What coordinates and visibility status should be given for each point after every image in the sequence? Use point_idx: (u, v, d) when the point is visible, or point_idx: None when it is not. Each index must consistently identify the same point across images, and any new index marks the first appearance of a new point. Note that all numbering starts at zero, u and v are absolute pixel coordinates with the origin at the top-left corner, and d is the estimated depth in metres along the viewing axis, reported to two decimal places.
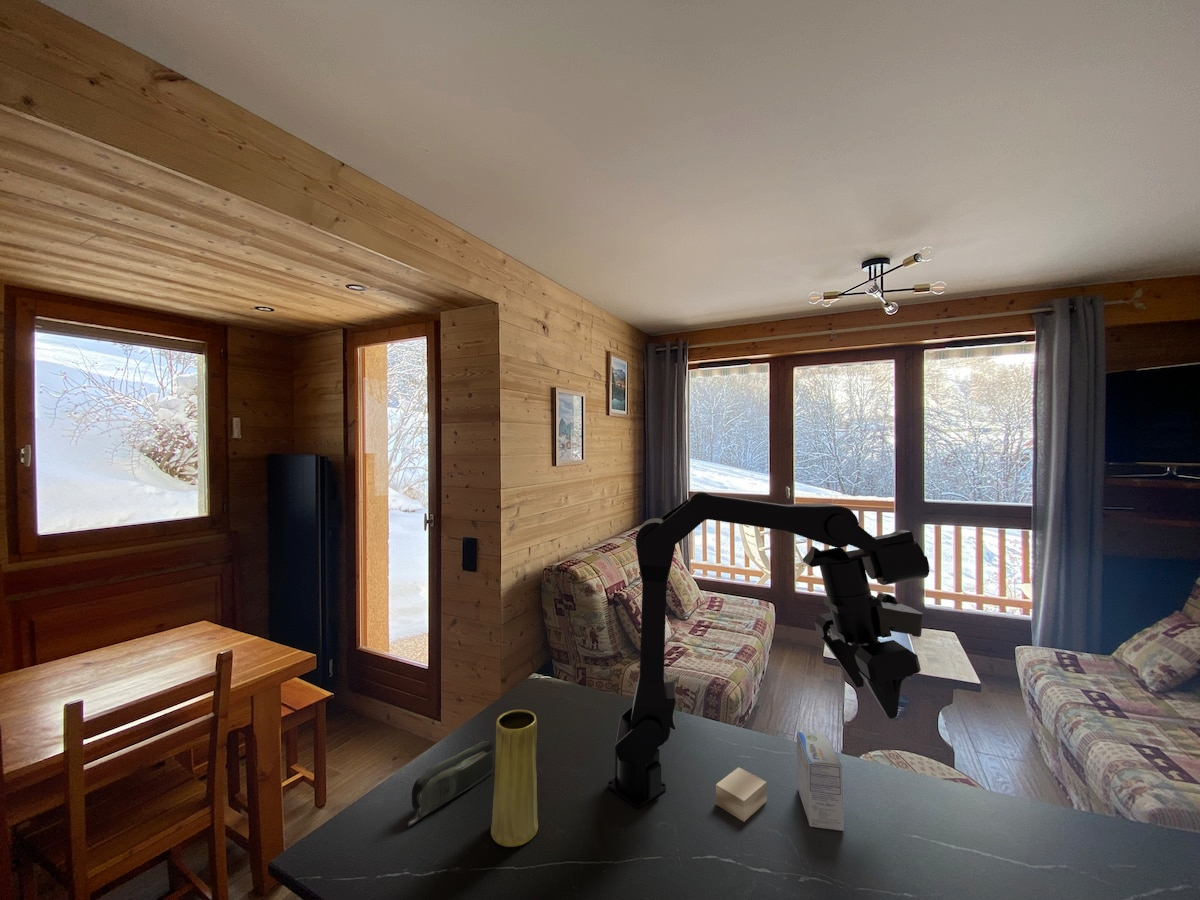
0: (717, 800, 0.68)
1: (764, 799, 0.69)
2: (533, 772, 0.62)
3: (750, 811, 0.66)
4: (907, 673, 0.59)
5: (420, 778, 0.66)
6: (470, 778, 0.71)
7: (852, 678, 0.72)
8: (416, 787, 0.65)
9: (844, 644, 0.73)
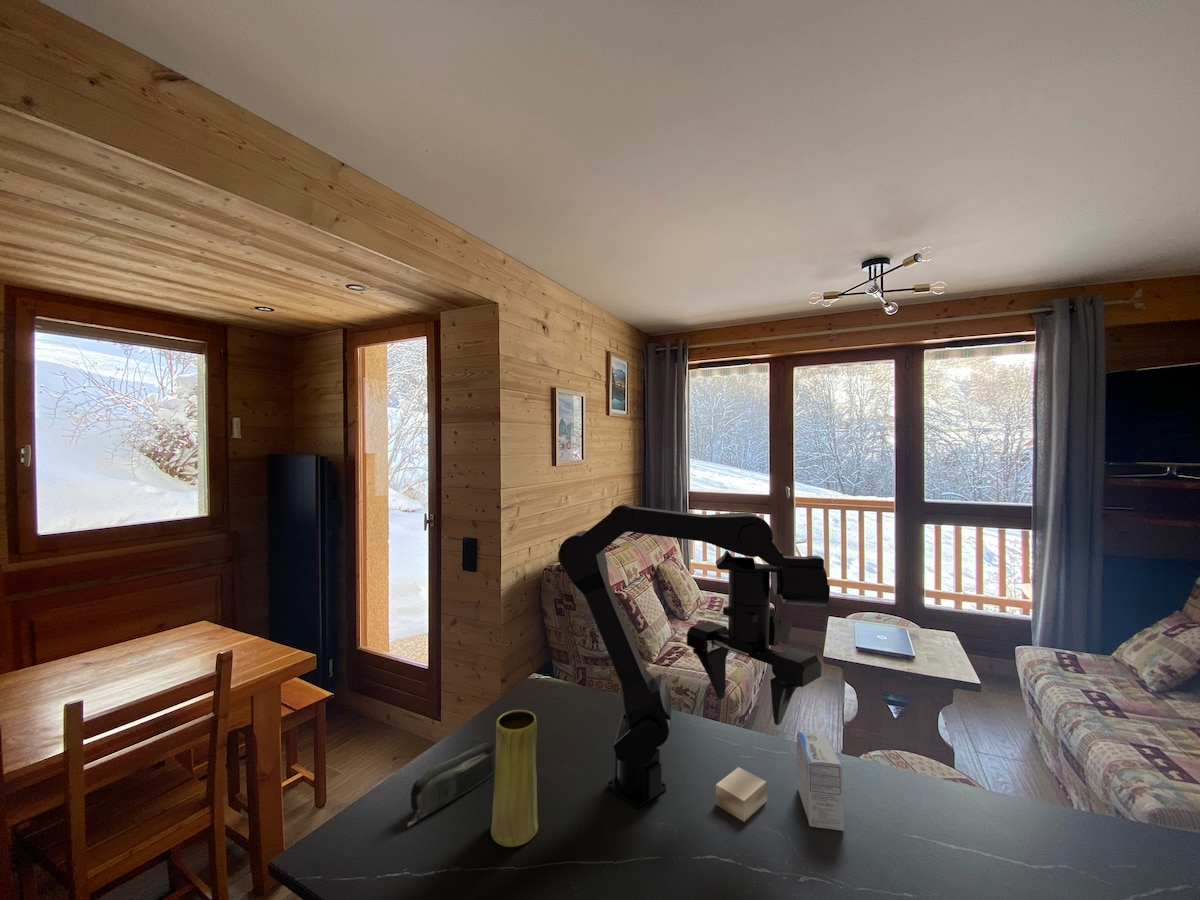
0: (717, 800, 0.68)
1: (764, 799, 0.69)
2: (533, 772, 0.62)
3: (750, 811, 0.66)
4: (816, 677, 0.63)
5: (419, 779, 0.66)
6: (470, 780, 0.70)
7: (719, 690, 0.72)
8: (415, 788, 0.65)
9: (717, 656, 0.73)
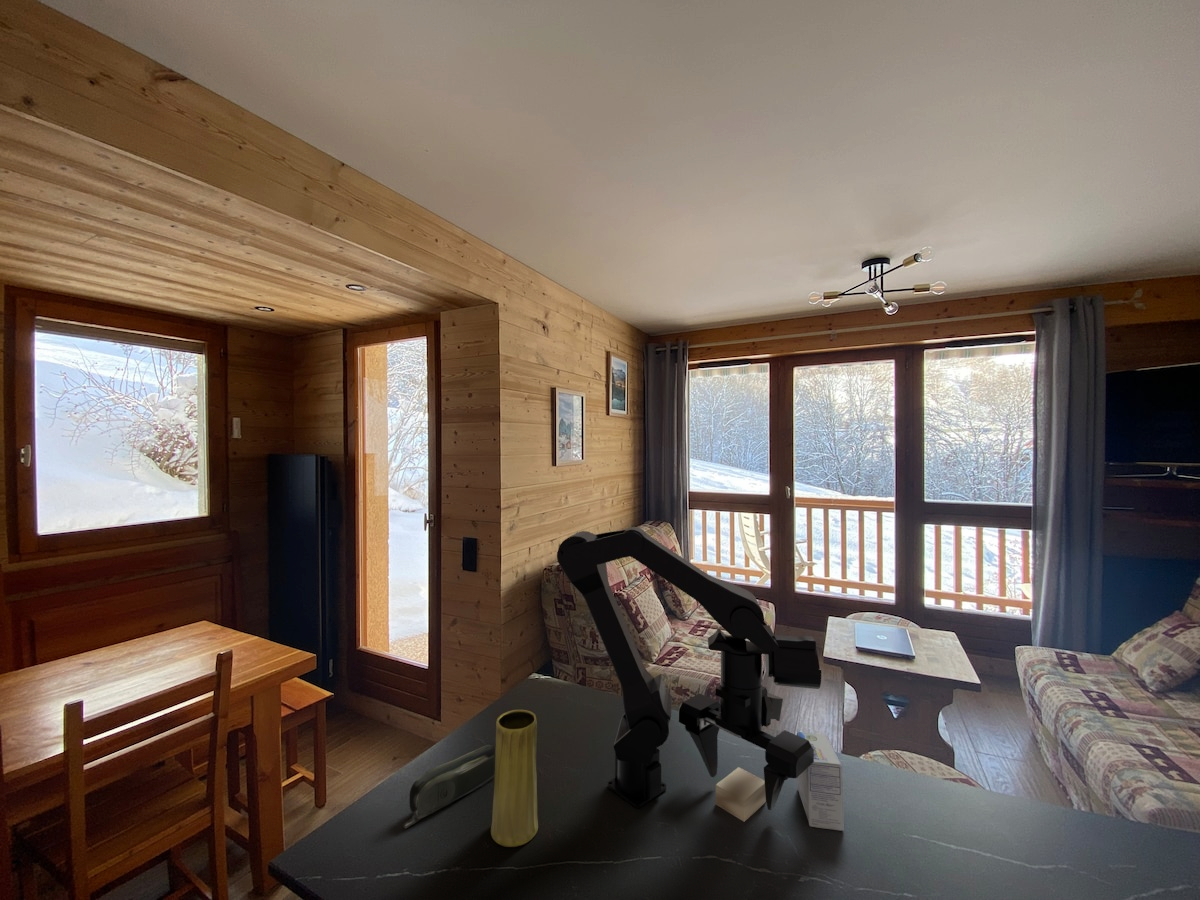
0: (717, 800, 0.68)
1: (764, 799, 0.69)
2: (533, 772, 0.62)
3: (750, 811, 0.66)
4: (809, 764, 0.63)
5: (418, 780, 0.66)
6: (469, 783, 0.70)
7: (711, 768, 0.71)
8: (414, 789, 0.65)
9: (709, 733, 0.72)
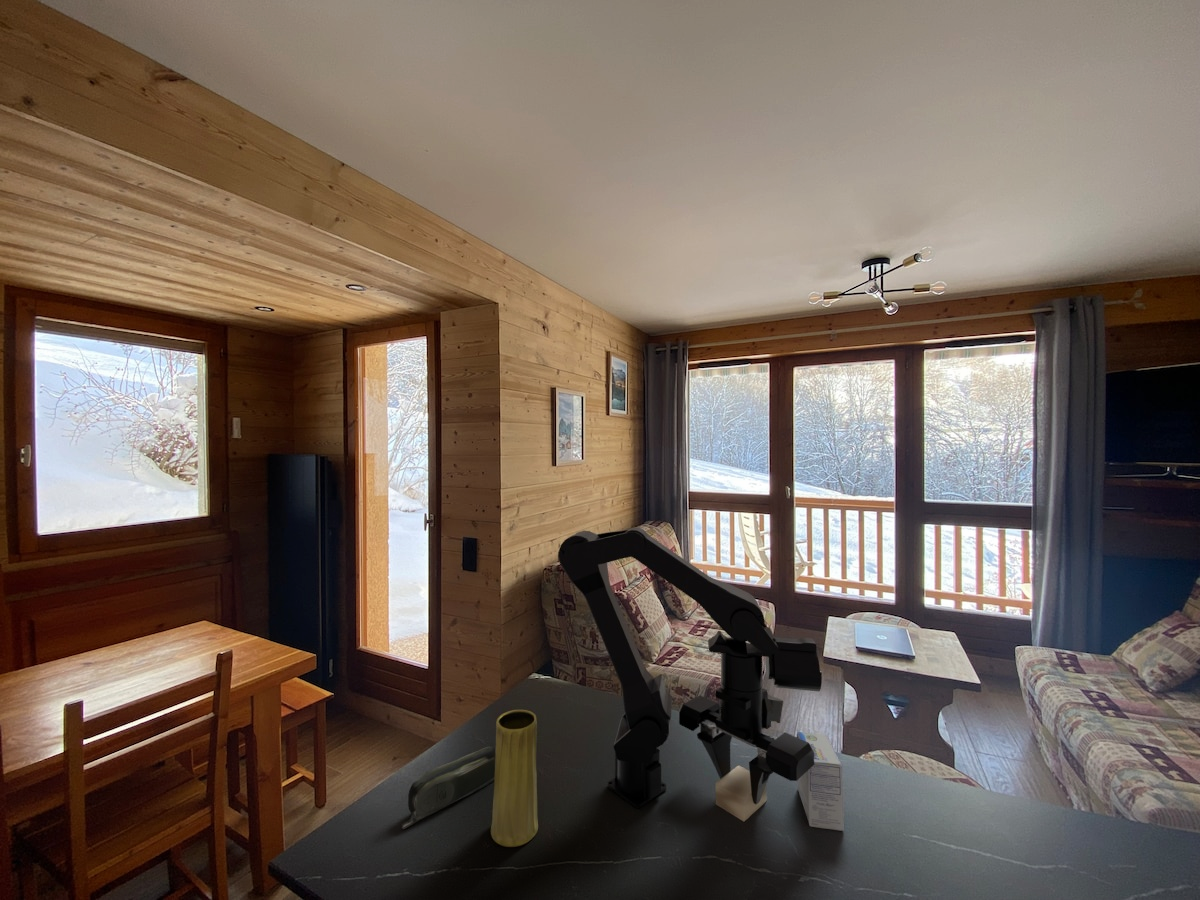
0: (717, 798, 0.68)
1: (764, 797, 0.69)
2: (533, 772, 0.62)
3: (749, 809, 0.66)
4: (809, 767, 0.63)
5: (417, 781, 0.66)
6: (469, 784, 0.69)
7: None
8: (412, 790, 0.65)
9: (722, 742, 0.71)
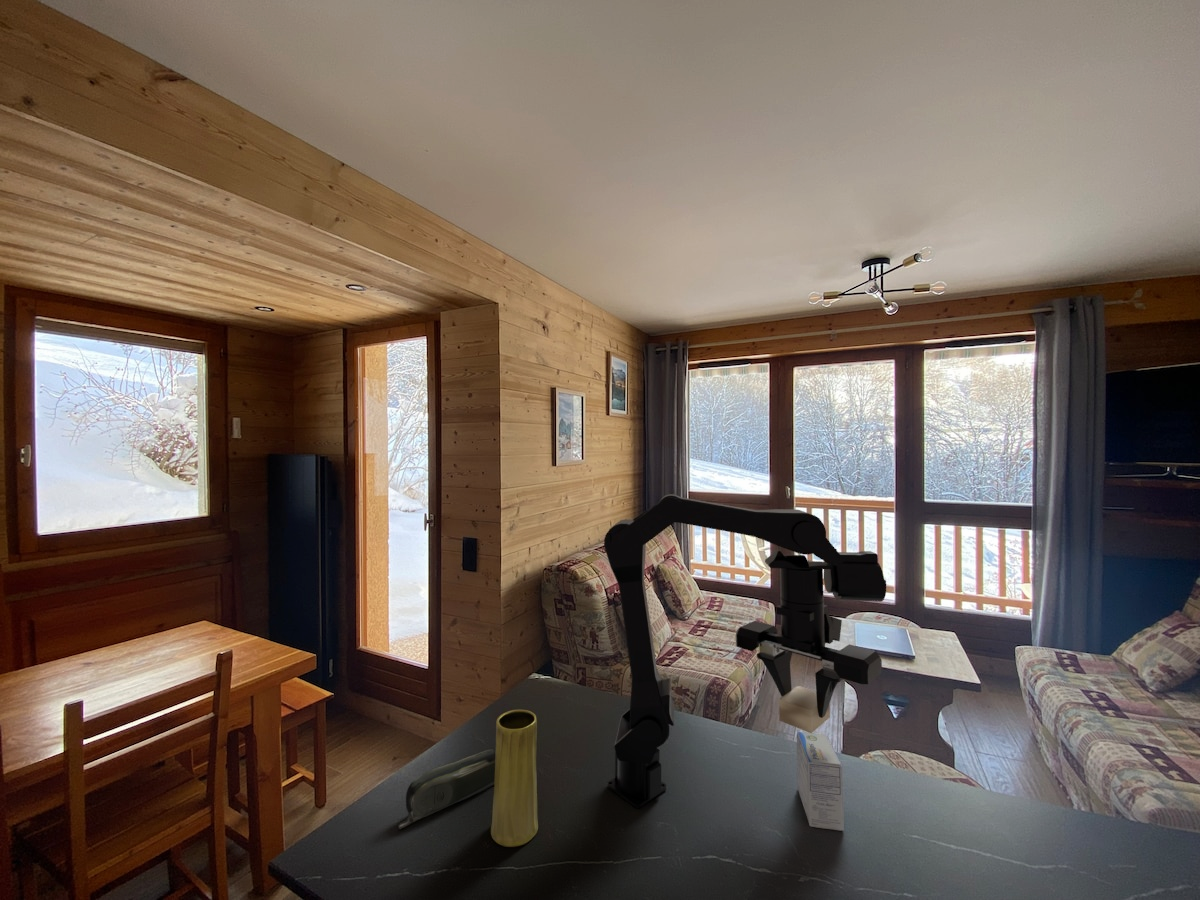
0: (781, 714, 0.68)
1: (828, 713, 0.68)
2: (533, 772, 0.62)
3: (816, 722, 0.65)
4: (878, 674, 0.62)
5: (415, 781, 0.66)
6: (468, 787, 0.69)
7: None
8: (410, 790, 0.65)
9: (782, 660, 0.70)
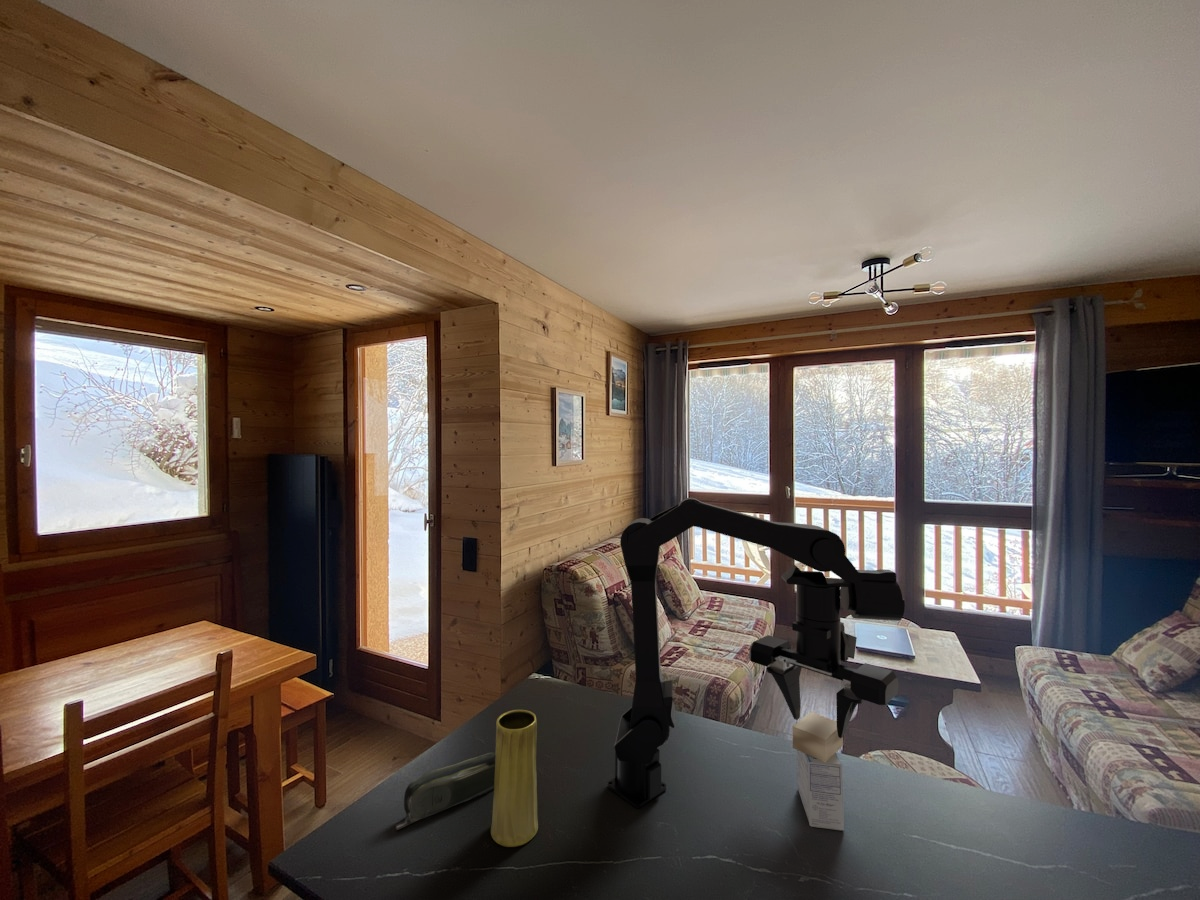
0: (794, 742, 0.67)
1: (841, 741, 0.68)
2: (533, 772, 0.62)
3: (830, 751, 0.65)
4: (894, 694, 0.62)
5: (413, 782, 0.65)
6: (468, 790, 0.68)
7: (795, 710, 0.70)
8: (408, 791, 0.64)
9: (792, 675, 0.70)
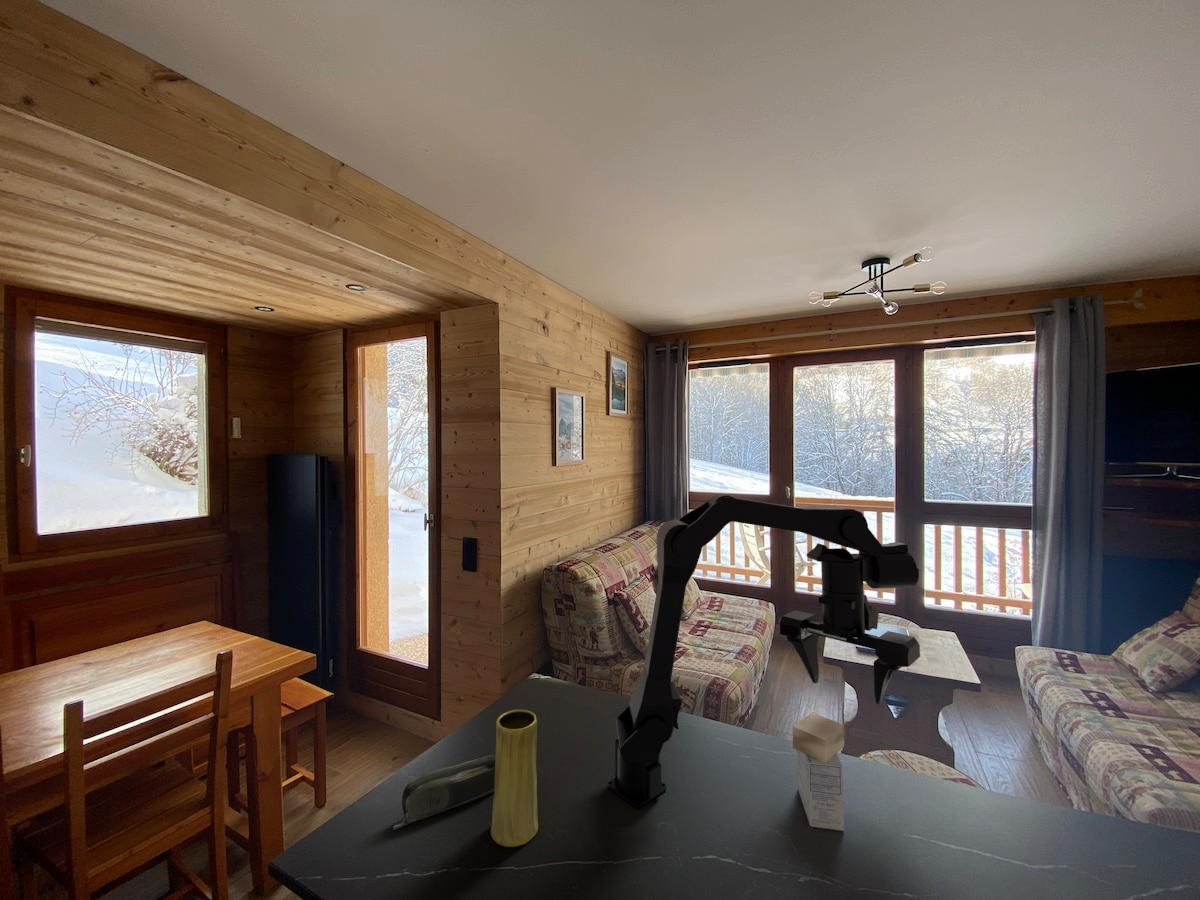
0: (794, 742, 0.67)
1: (842, 742, 0.68)
2: (533, 772, 0.62)
3: (829, 751, 0.65)
4: (916, 658, 0.67)
5: (411, 782, 0.65)
6: (466, 792, 0.68)
7: (814, 675, 0.76)
8: (406, 791, 0.64)
9: (810, 643, 0.77)
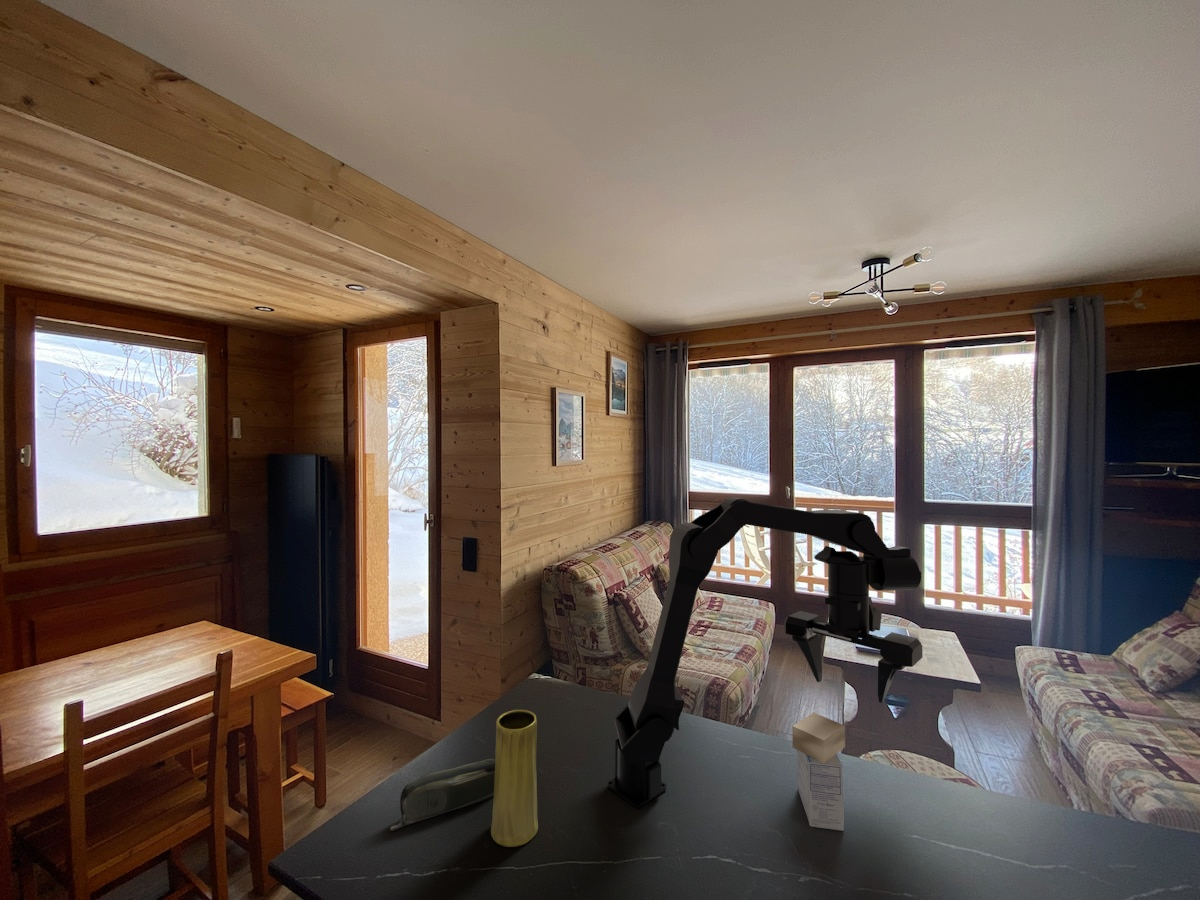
0: (794, 741, 0.67)
1: (843, 743, 0.67)
2: (533, 772, 0.62)
3: (829, 752, 0.65)
4: (919, 658, 0.70)
5: (409, 784, 0.65)
6: (465, 796, 0.67)
7: (818, 674, 0.78)
8: (403, 792, 0.64)
9: (814, 642, 0.79)
